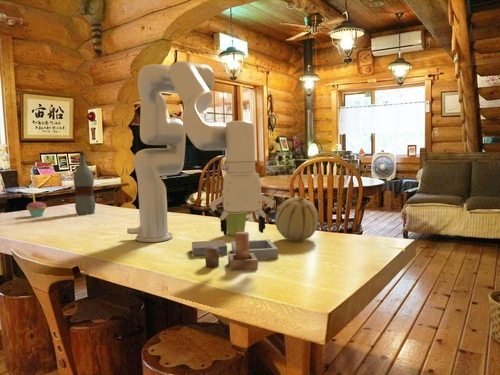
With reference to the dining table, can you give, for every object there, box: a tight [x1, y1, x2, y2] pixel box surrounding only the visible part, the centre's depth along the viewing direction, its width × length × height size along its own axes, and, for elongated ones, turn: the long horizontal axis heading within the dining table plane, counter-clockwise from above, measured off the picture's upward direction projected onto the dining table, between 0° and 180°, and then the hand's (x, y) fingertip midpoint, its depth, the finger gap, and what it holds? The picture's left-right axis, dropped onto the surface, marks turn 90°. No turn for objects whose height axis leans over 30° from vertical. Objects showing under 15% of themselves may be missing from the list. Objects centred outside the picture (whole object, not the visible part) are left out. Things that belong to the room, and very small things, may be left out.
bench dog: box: [204, 246, 220, 269], centre depth 111 cm, size 4×4×5 cm
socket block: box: [227, 253, 259, 272], centre depth 110 cm, size 7×7×2 cm
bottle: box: [73, 152, 96, 216], centre depth 202 cm, size 9×9×30 cm
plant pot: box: [225, 212, 249, 237], centre depth 149 cm, size 9×9×9 cm
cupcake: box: [26, 193, 47, 218], centre depth 197 cm, size 9×8×12 cm
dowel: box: [234, 231, 250, 260], centre depth 110 cm, size 4×4×9 cm
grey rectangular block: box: [191, 239, 228, 258], centre depth 125 cm, size 10×8×3 cm
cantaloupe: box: [274, 196, 320, 242], centre depth 138 cm, size 15×15×15 cm
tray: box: [231, 239, 279, 260], centre depth 122 cm, size 12×12×3 cm
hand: (243, 233), depth 109 cm, fingers open, 9 cm apart
